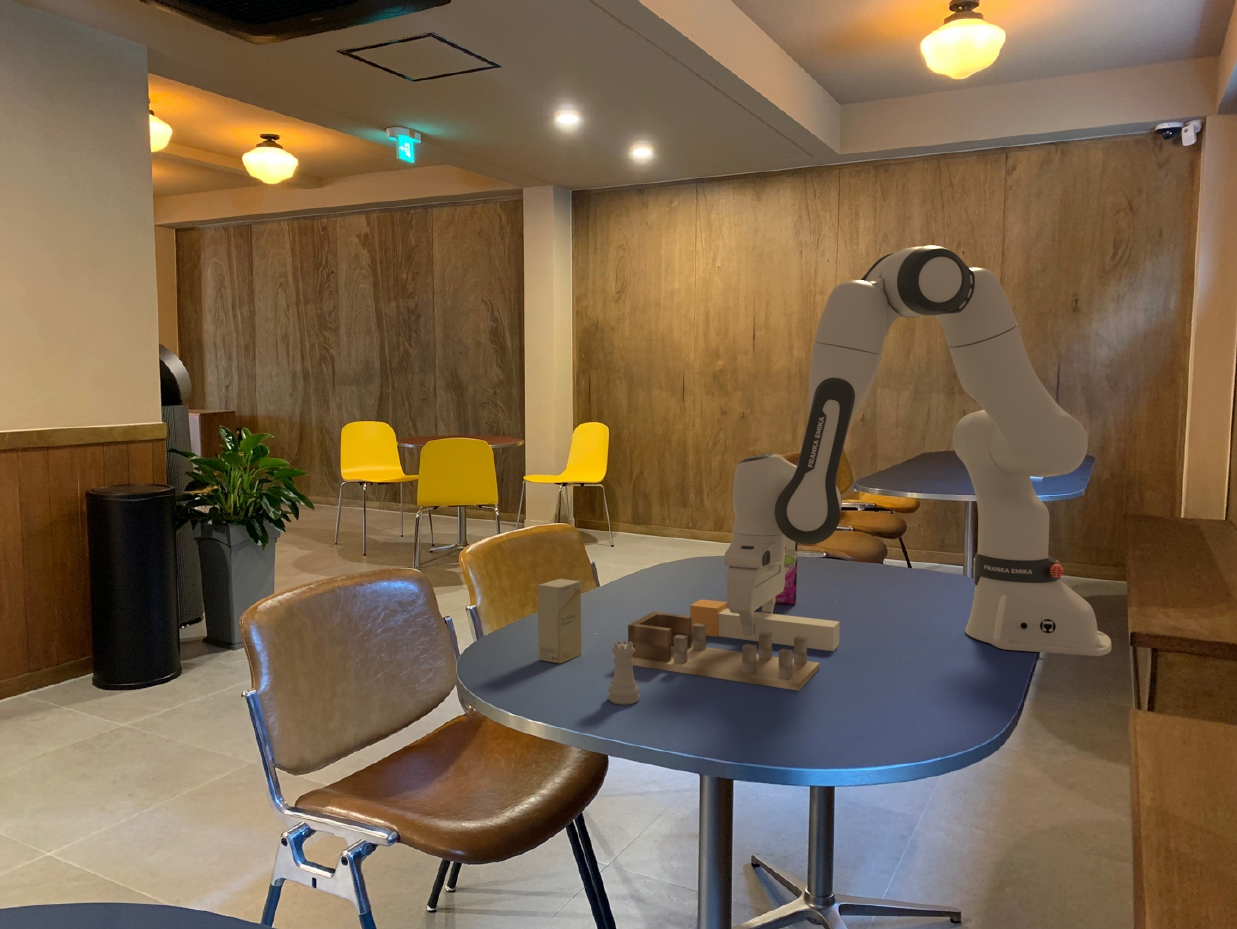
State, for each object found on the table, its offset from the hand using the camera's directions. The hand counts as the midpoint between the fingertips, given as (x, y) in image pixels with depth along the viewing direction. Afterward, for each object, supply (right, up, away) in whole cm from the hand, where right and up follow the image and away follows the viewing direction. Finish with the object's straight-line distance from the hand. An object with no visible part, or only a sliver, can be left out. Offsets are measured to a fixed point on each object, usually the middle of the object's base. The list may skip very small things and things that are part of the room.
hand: (757, 628), depth 155 cm
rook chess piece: (-23, -5, -30) cm, 39 cm away
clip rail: (-8, -3, -16) cm, 18 cm away
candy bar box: (+6, 0, +26) cm, 27 cm away
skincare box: (-33, -3, -11) cm, 35 cm away
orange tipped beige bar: (+1, -2, 0) cm, 2 cm away
